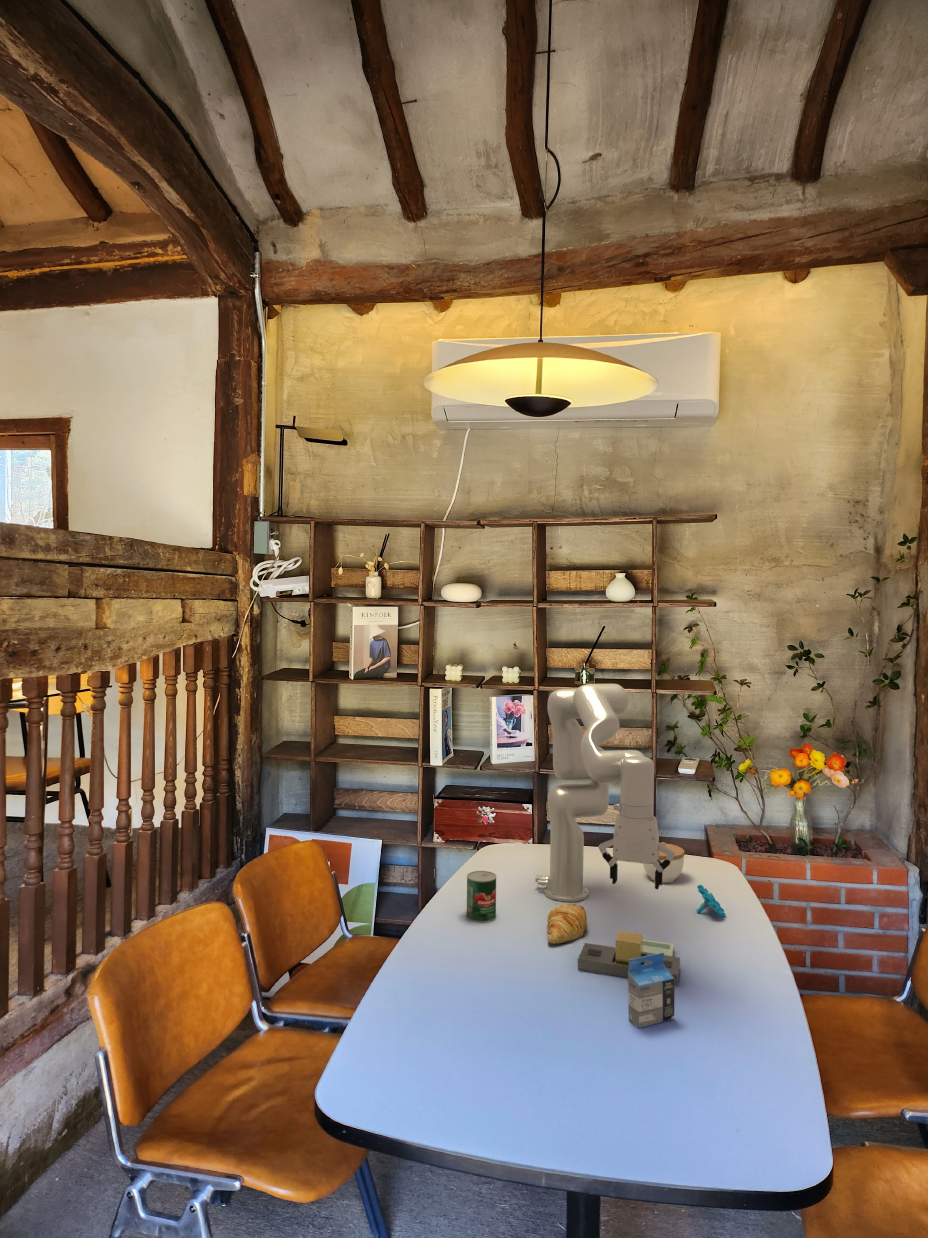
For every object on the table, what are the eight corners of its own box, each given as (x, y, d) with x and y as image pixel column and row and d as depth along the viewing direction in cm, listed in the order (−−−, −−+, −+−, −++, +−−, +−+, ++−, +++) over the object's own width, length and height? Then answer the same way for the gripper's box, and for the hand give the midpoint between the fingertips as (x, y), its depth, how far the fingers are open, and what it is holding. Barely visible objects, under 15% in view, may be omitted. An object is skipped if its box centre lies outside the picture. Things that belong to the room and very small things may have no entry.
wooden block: (615, 972, 178) (615, 940, 178) (618, 962, 184) (619, 930, 184) (639, 977, 177) (640, 944, 177) (642, 966, 182) (643, 934, 182)
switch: (577, 970, 180) (577, 958, 179) (584, 953, 188) (585, 942, 188) (677, 986, 172) (677, 974, 172) (679, 968, 181) (680, 957, 181)
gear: (727, 918, 206) (699, 886, 209) (710, 932, 207) (683, 901, 210) (728, 908, 216) (701, 879, 219) (711, 922, 217) (686, 892, 220)
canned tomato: (484, 925, 204) (484, 883, 203) (460, 917, 208) (460, 876, 208) (501, 915, 210) (502, 875, 210) (478, 908, 215) (478, 868, 214)
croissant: (562, 964, 190) (577, 939, 188) (528, 937, 194) (542, 912, 192) (589, 930, 209) (603, 906, 207) (558, 906, 213) (571, 883, 211)
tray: (619, 957, 186) (619, 950, 186) (623, 943, 194) (623, 936, 194) (671, 965, 182) (671, 958, 182) (673, 950, 190) (673, 944, 190)
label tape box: (639, 1029, 155) (639, 967, 155) (626, 1019, 159) (627, 959, 158) (675, 1020, 158) (676, 960, 158) (662, 1010, 162) (663, 951, 162)
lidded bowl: (688, 886, 233) (689, 849, 233) (646, 886, 233) (646, 849, 233) (677, 872, 246) (678, 837, 245) (637, 871, 246) (638, 836, 246)
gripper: (596, 811, 180) (595, 885, 180) (674, 818, 174) (673, 895, 174) (601, 803, 187) (601, 875, 187) (676, 810, 181) (675, 884, 181)
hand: (635, 884), depth 181 cm, fingers open, 9 cm apart
